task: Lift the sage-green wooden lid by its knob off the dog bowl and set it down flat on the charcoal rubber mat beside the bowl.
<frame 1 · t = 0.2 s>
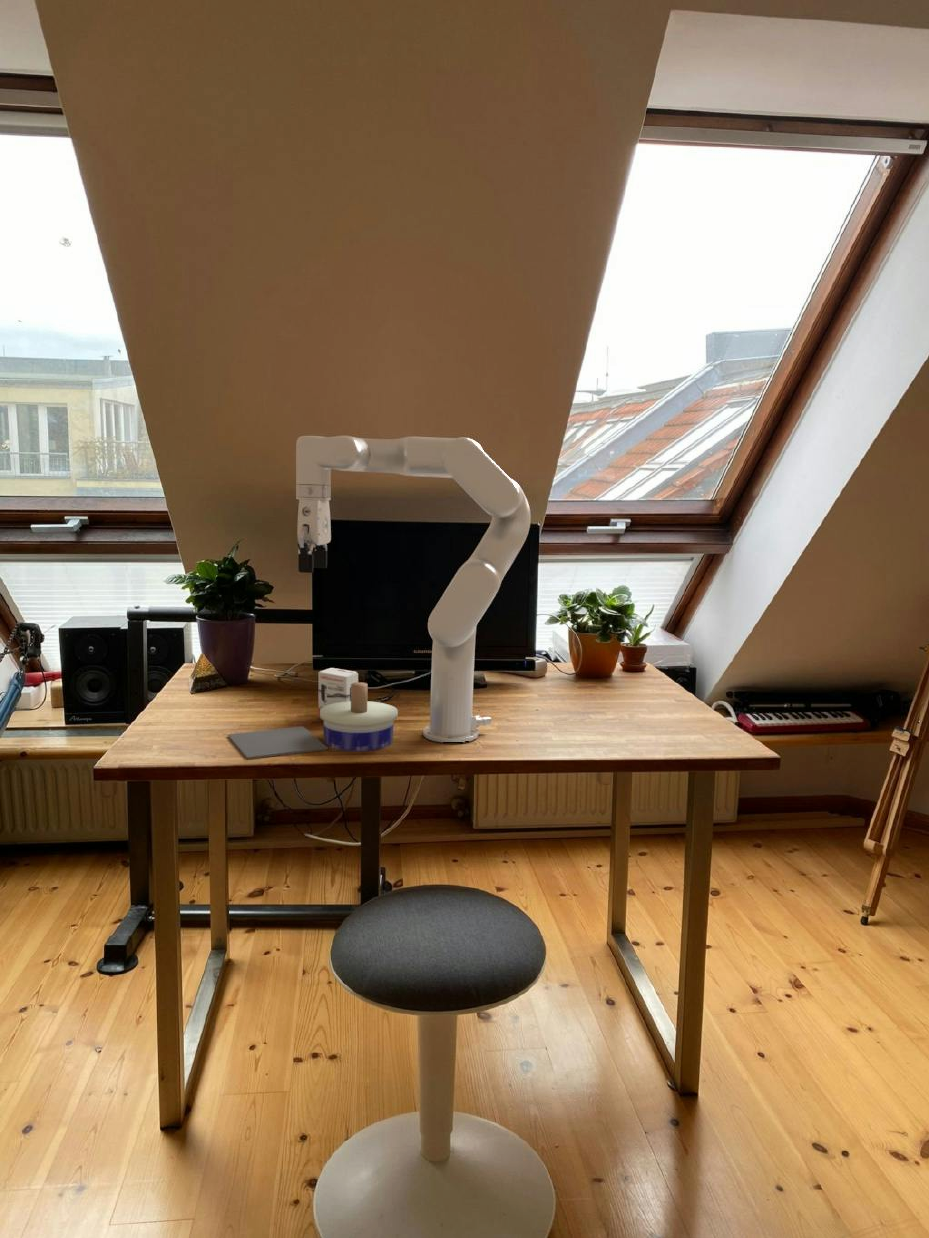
hand: (313, 570, 193), 36 cm above the table, tool pointing down, fingers open, 9 cm apart
lid: (358, 715, 190), point 6 cm above the table, touching dog bowl
dog bowl: (358, 742, 191), on the table, touching lid
mat: (276, 742, 187), on the table
ink box: (337, 720, 207), on the table
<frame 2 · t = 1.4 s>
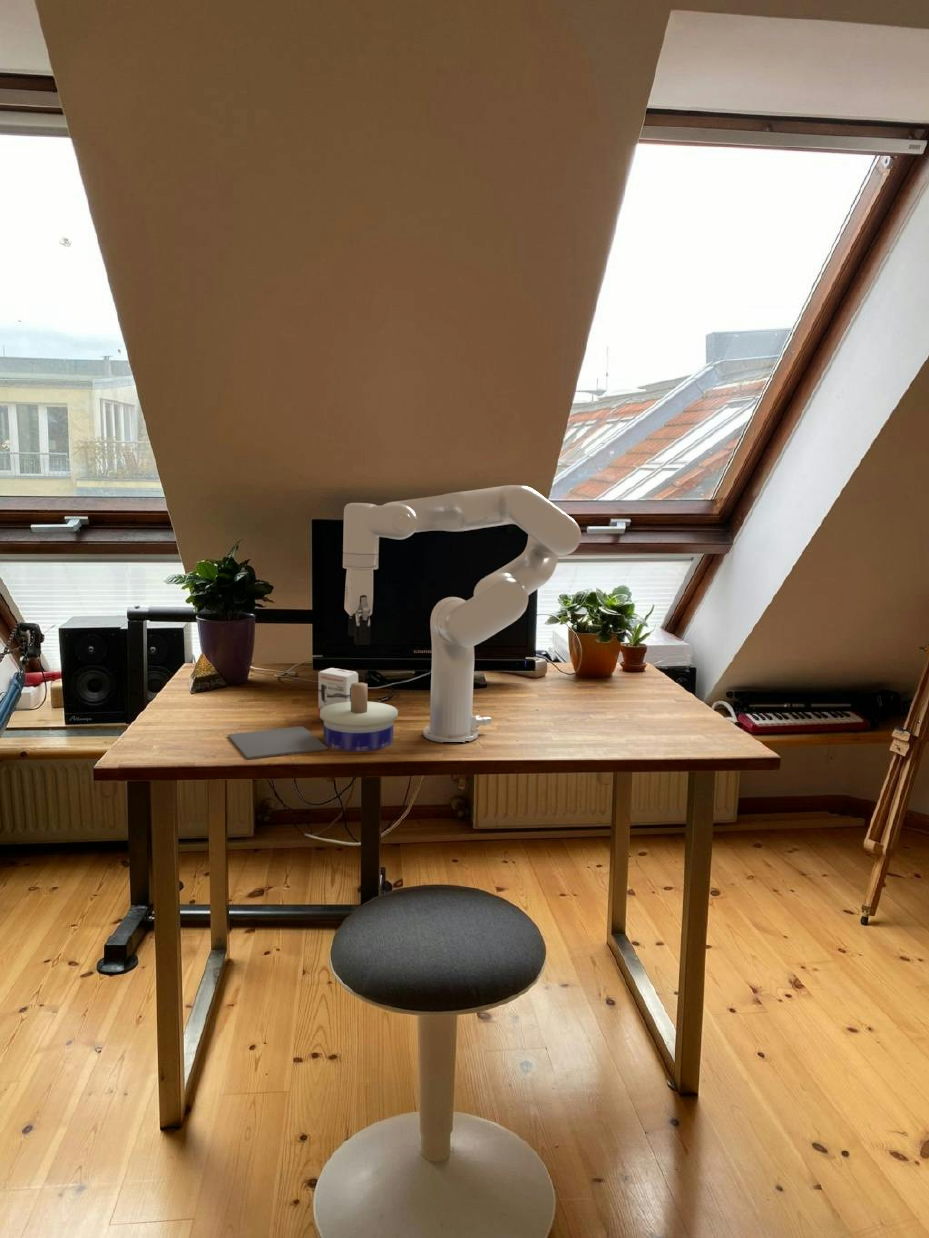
hand: (358, 640, 187), 23 cm above the table, tool pointing down, fingers open, 9 cm apart
nothing on the table moved.
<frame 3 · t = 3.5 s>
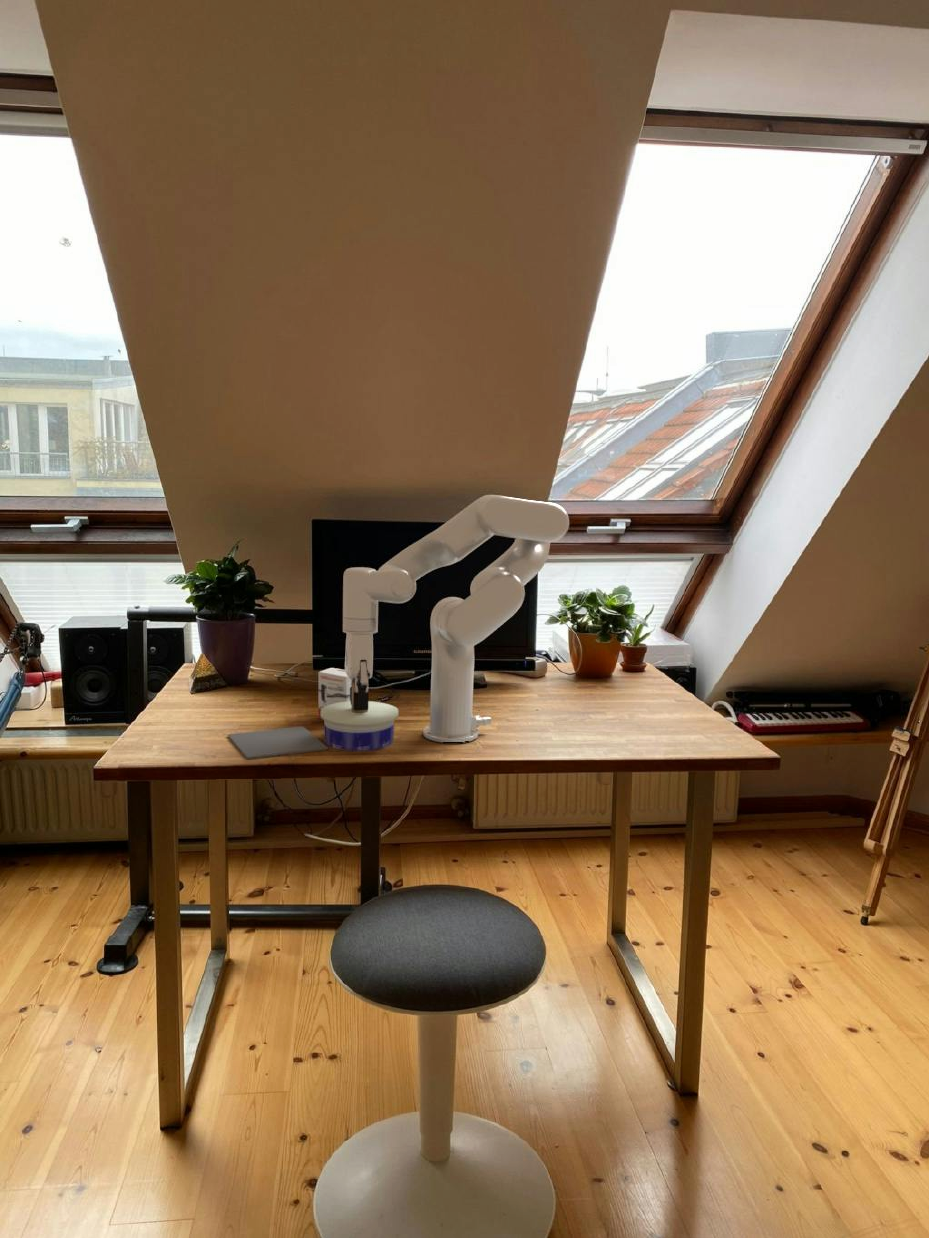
hand: (359, 706, 189), 8 cm above the table, tool pointing down, fingers closed on lid, 3 cm apart
lid: (359, 715, 190), point 6 cm above the table, touching dog bowl, gripper
everything else where it was.
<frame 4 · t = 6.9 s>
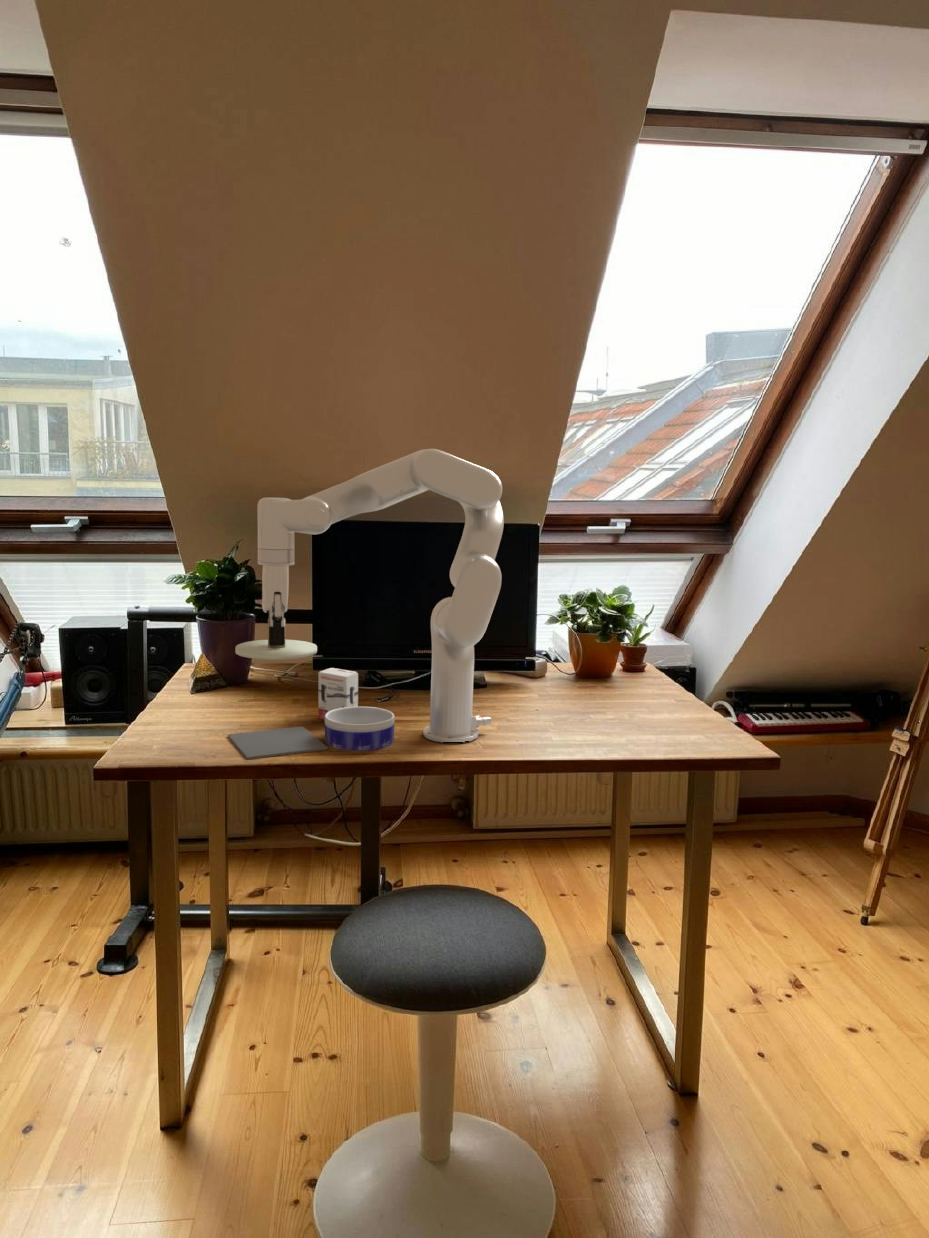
hand: (276, 642, 183), 22 cm above the table, tool pointing down, fingers closed on lid, 3 cm apart
lid: (276, 651, 184), point 20 cm above the table, touching gripper
dog bowl: (359, 742, 191), on the table
everything else where it was.
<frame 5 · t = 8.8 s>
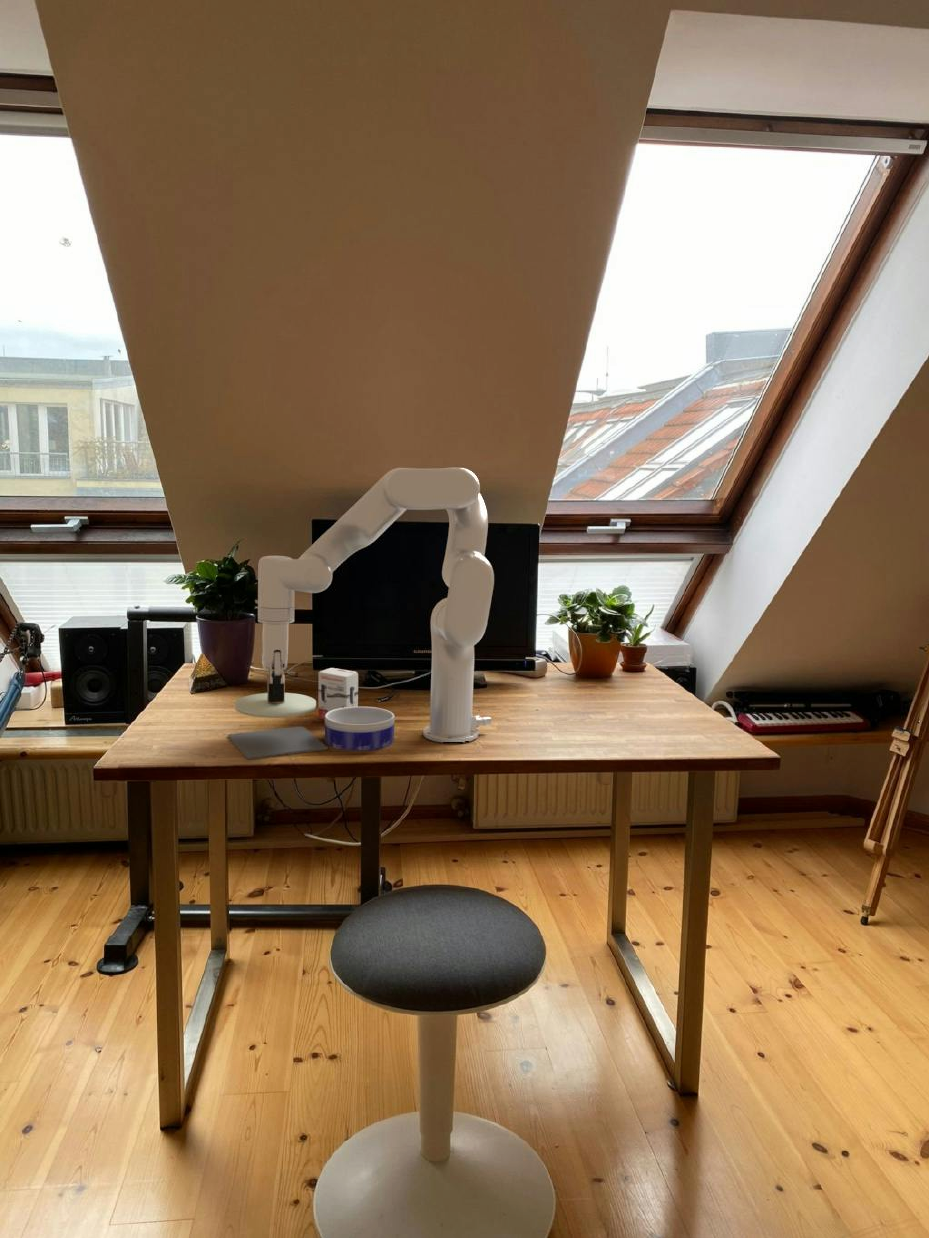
hand: (275, 698, 185), 10 cm above the table, tool pointing down, fingers closed on lid, 3 cm apart
lid: (275, 706, 186), point 8 cm above the table, touching gripper
everything else where it was.
when the fingers open (4 cm above the table, at t = 10.3 s): lid drops 2 cm, resting on mat.
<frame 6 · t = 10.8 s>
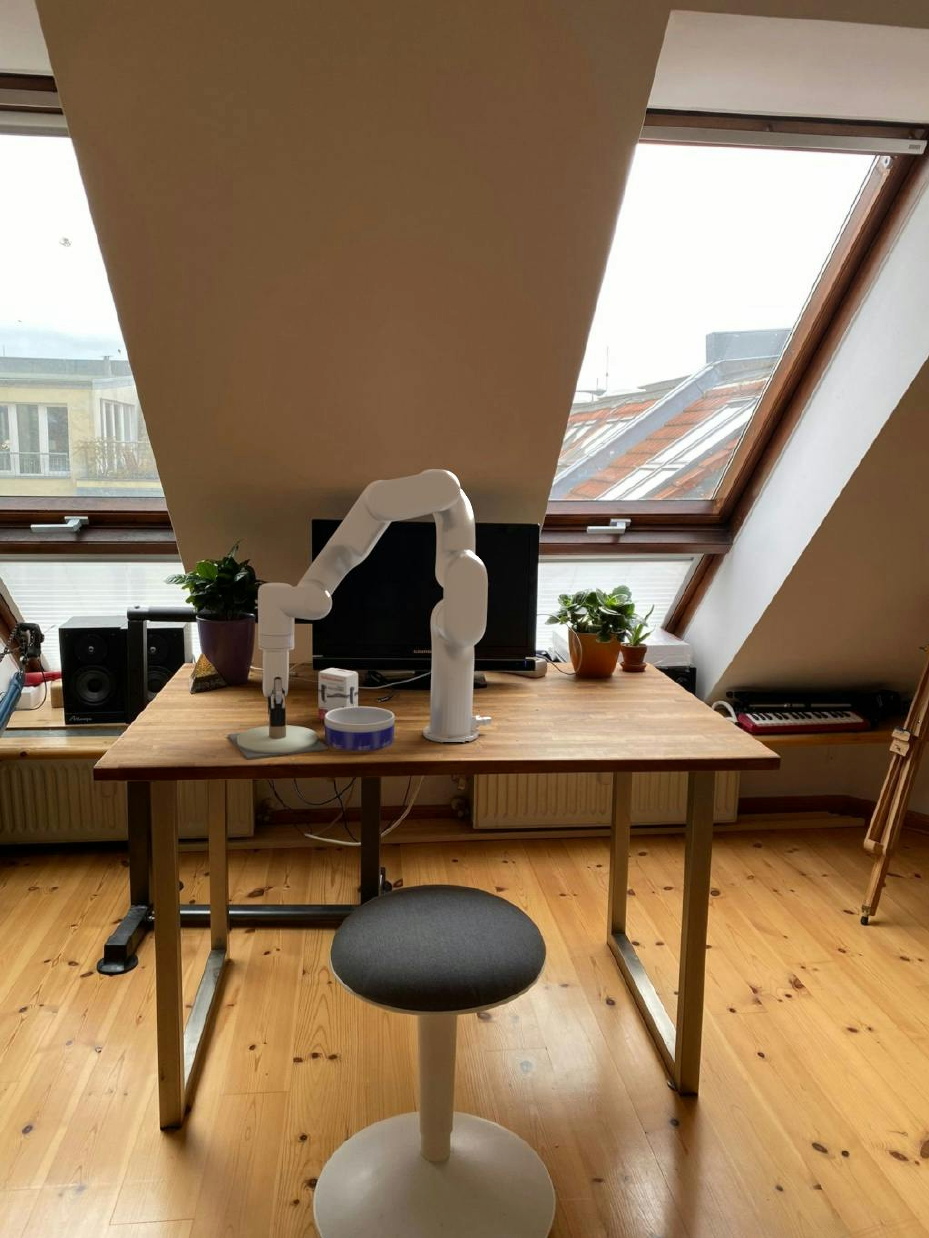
hand: (276, 719, 186), 5 cm above the table, tool pointing down, fingers open, 8 cm apart
lid: (277, 740, 187), resting on mat
everything else where it was.
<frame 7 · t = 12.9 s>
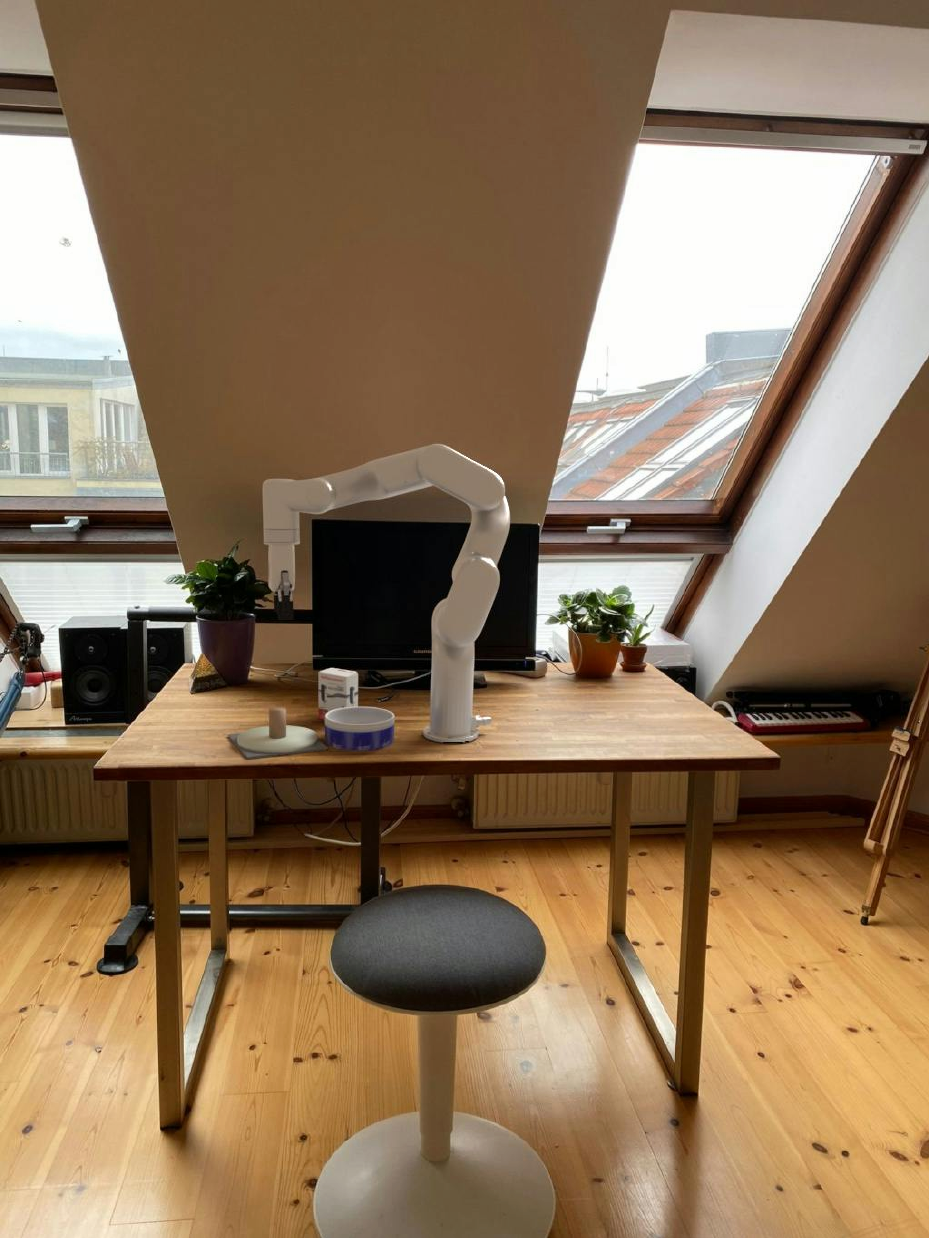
hand: (283, 616, 187), 27 cm above the table, tool pointing down, fingers open, 9 cm apart
nothing on the table moved.
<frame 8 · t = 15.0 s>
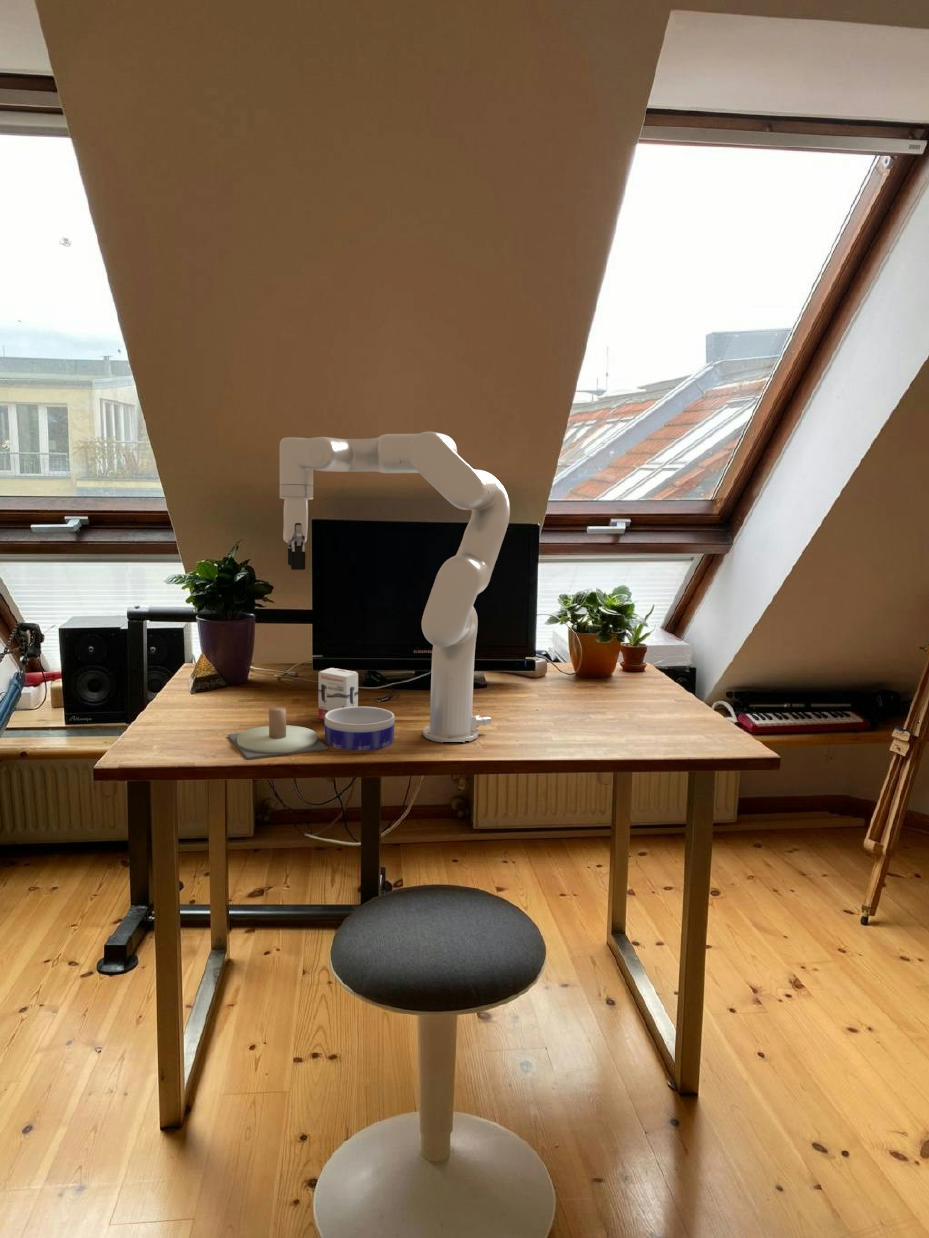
hand: (296, 567, 200), 36 cm above the table, tool pointing down, fingers open, 9 cm apart
nothing on the table moved.
at the end: lid inside the target area on the mat (0.2 cm from its centre), point 0.5 cm above the mat's base; lid tilted 0°; dog bowl moved 0.5 cm from its start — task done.
